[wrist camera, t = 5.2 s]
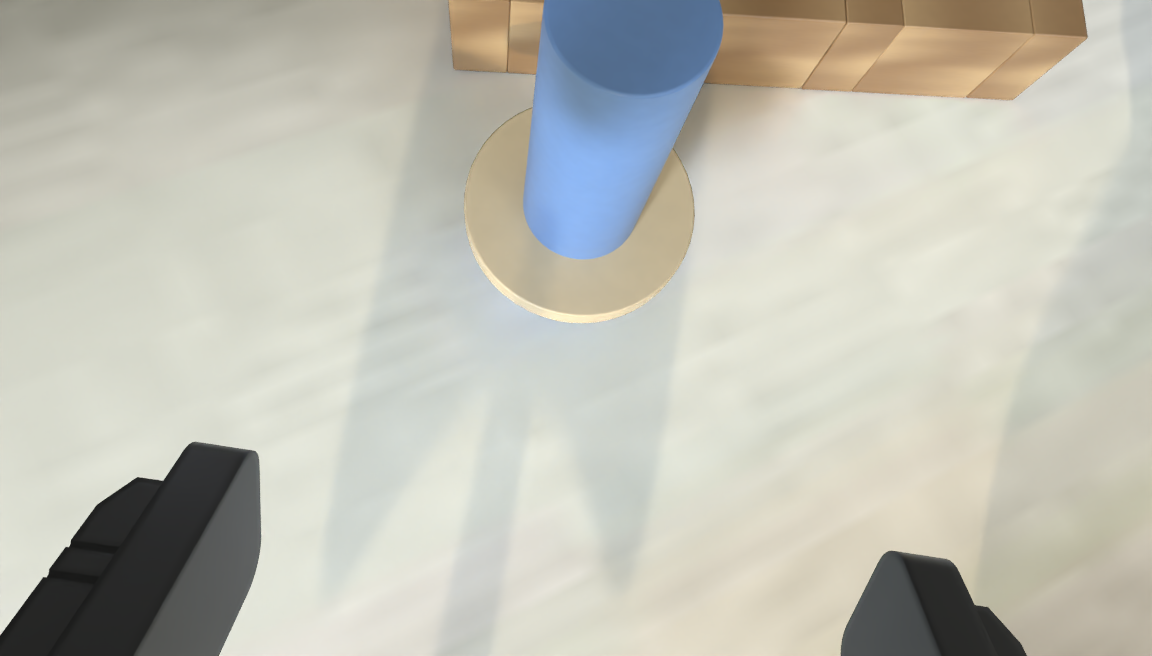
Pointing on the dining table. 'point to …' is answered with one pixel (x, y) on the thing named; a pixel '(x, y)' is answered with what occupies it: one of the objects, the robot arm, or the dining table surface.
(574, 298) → the peg
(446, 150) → the dining table surface
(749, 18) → the rack
